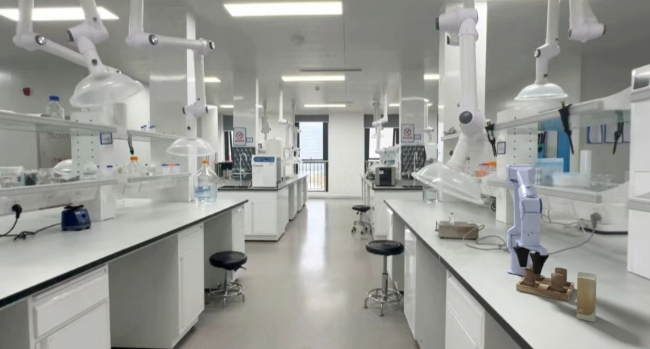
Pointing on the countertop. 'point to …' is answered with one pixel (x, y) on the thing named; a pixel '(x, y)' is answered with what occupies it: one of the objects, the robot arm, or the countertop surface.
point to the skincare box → (586, 296)
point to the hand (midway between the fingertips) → (529, 270)
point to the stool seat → (549, 285)
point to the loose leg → (529, 278)
